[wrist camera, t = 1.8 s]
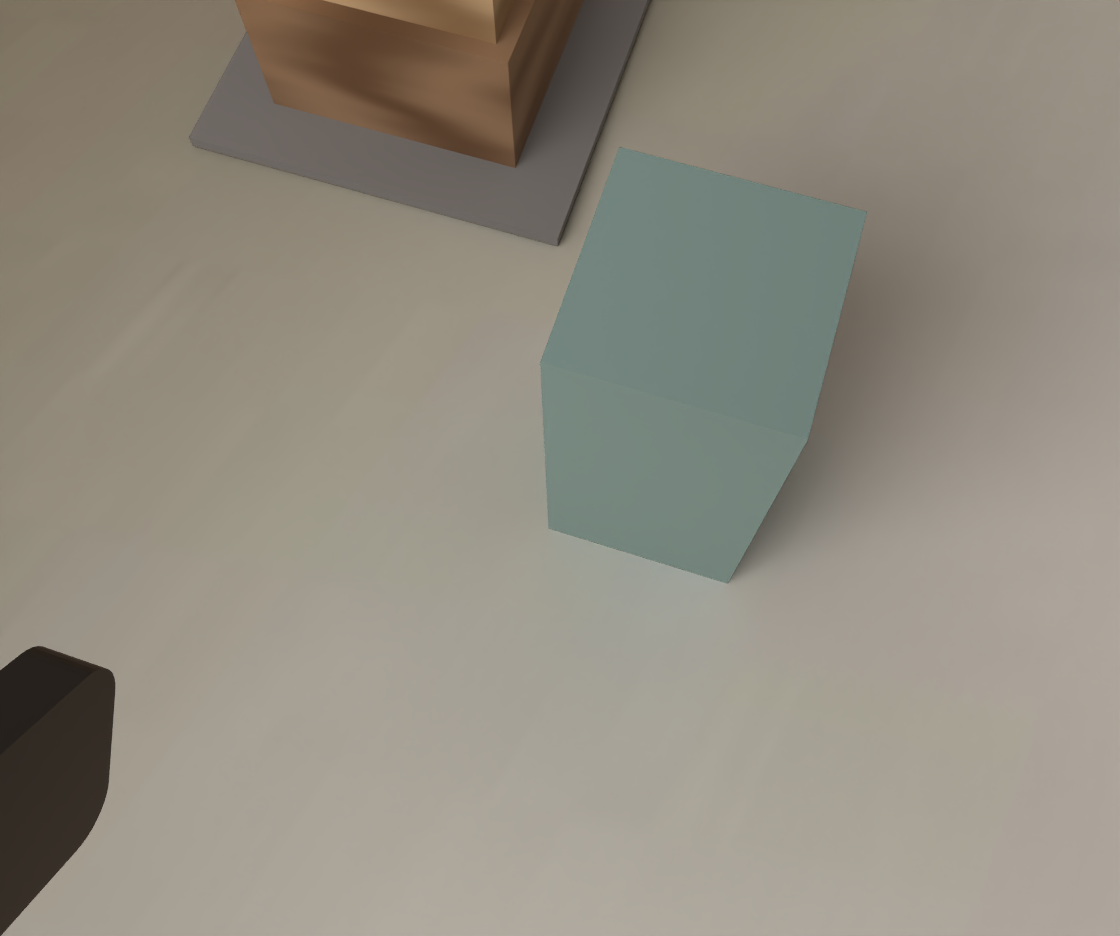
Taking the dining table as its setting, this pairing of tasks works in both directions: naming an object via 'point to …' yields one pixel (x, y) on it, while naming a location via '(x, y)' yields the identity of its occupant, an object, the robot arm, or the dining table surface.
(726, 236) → the teal block
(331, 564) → the dining table surface
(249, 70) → the felt mat
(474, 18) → the oak block
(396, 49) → the walnut block
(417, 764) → the dining table surface
